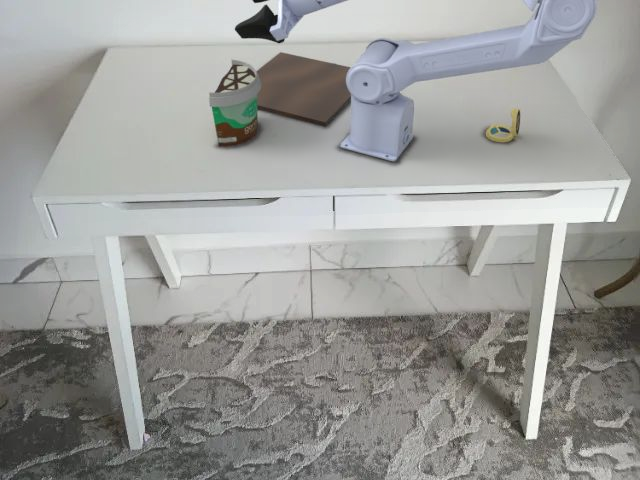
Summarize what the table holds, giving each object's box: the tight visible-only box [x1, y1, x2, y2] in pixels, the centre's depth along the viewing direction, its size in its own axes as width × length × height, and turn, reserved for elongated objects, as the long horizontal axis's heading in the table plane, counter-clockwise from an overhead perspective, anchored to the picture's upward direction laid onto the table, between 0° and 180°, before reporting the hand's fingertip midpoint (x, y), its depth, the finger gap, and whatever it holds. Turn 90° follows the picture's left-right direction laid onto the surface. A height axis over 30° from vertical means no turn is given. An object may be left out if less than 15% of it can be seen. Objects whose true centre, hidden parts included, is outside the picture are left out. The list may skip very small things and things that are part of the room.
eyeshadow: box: [485, 107, 521, 143], centre depth 105 cm, size 4×5×5 cm
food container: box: [208, 59, 261, 147], centre depth 105 cm, size 12×6×10 cm, turn 168°
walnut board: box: [256, 51, 352, 127], centre depth 119 cm, size 20×20×1 cm
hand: (245, 14), depth 100 cm, fingers open, 7 cm apart
